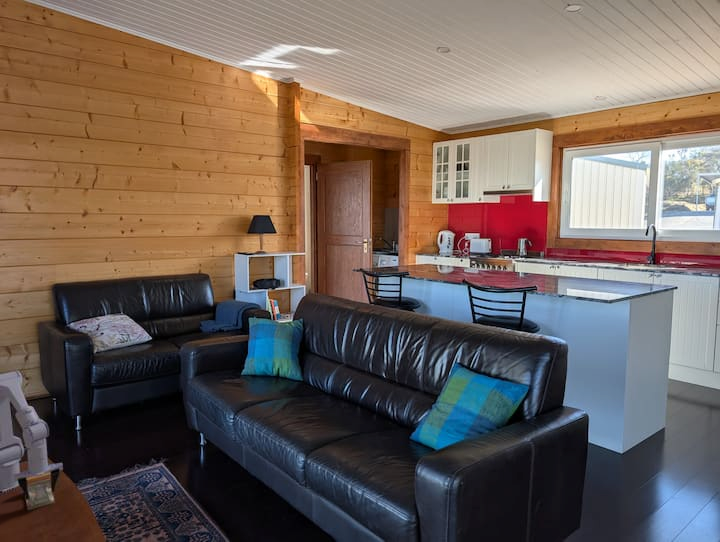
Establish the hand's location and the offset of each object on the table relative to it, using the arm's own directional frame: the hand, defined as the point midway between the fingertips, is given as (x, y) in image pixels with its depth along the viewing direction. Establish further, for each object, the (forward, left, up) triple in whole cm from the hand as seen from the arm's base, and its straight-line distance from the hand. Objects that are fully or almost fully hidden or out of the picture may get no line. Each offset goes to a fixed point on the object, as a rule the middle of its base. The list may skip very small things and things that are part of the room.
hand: (40, 494), depth 183 cm
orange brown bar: (-10, +4, +1) cm, 10 cm away
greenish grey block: (0, 0, -2) cm, 2 cm away
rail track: (-5, +2, -4) cm, 6 cm away
